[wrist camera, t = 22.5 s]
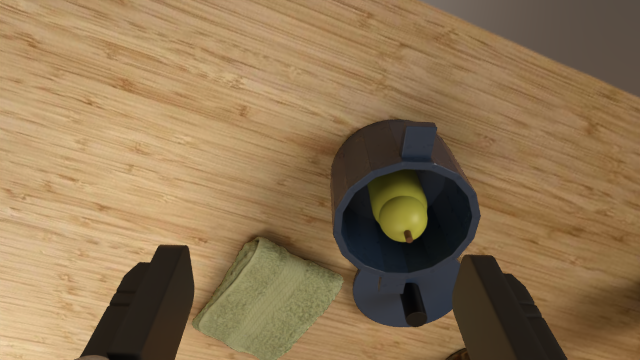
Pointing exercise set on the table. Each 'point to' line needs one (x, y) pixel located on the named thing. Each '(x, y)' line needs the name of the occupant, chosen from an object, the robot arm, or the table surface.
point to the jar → (460, 355)
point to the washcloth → (267, 300)
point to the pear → (399, 204)
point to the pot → (439, 188)
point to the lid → (407, 297)
